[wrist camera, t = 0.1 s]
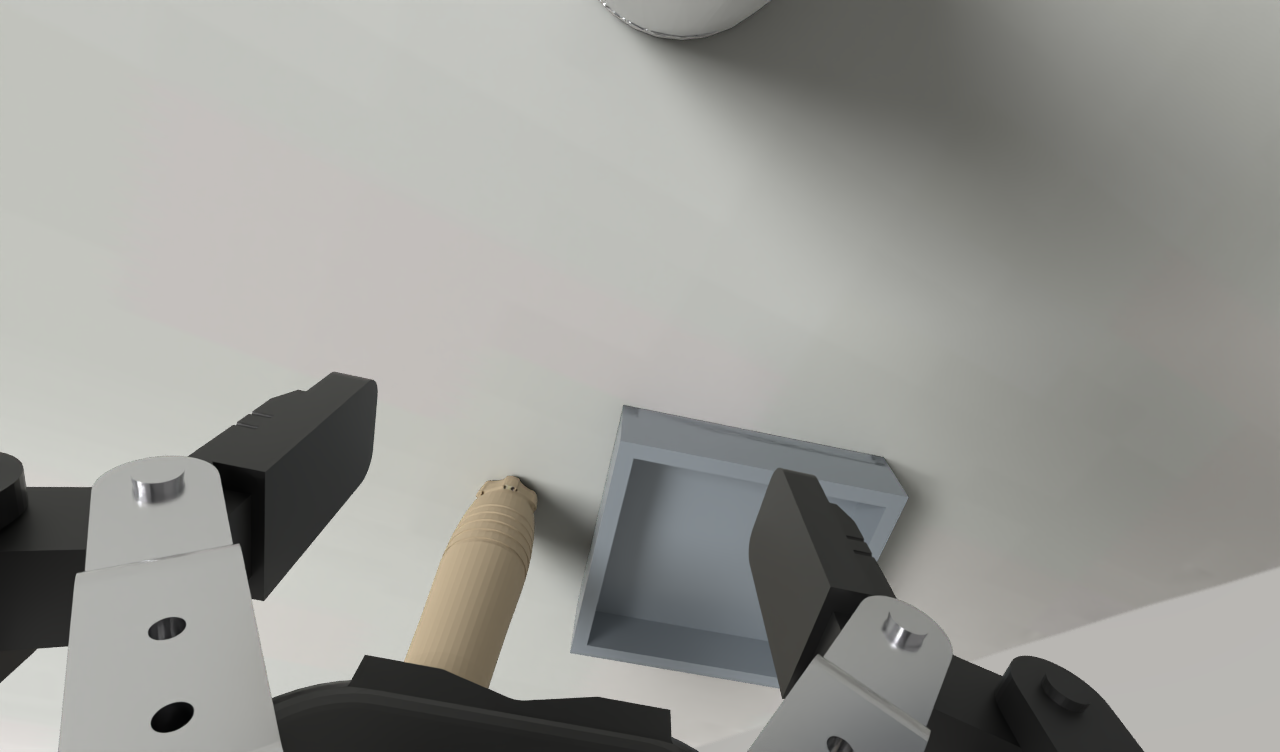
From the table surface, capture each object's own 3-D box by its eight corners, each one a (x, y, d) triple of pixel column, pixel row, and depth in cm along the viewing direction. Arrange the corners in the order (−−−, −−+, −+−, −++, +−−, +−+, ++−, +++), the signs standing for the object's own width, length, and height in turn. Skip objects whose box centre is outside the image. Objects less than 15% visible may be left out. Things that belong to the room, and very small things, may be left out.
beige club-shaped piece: (457, 447, 32) (317, 703, 19) (575, 475, 33) (521, 742, 19) (445, 517, 34) (310, 795, 21) (557, 542, 35) (496, 829, 21)
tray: (623, 405, 31) (620, 440, 28) (883, 457, 32) (908, 497, 29) (577, 604, 37) (569, 653, 34) (798, 643, 38) (811, 693, 35)
